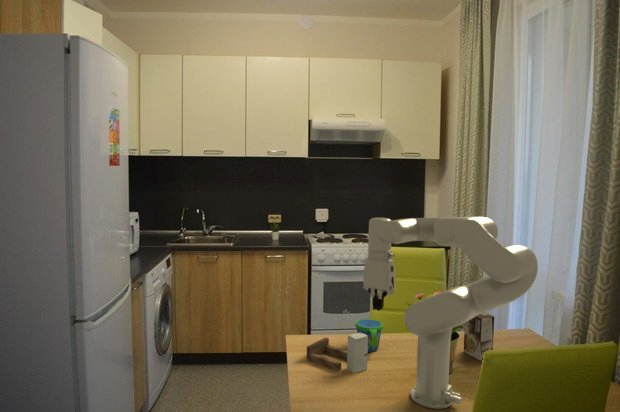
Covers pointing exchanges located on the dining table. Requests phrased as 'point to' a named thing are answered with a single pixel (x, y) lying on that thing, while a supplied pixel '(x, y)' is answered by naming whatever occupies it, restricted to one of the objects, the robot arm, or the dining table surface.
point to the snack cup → (370, 332)
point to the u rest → (323, 347)
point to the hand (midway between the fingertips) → (377, 308)
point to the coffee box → (479, 335)
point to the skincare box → (357, 352)
